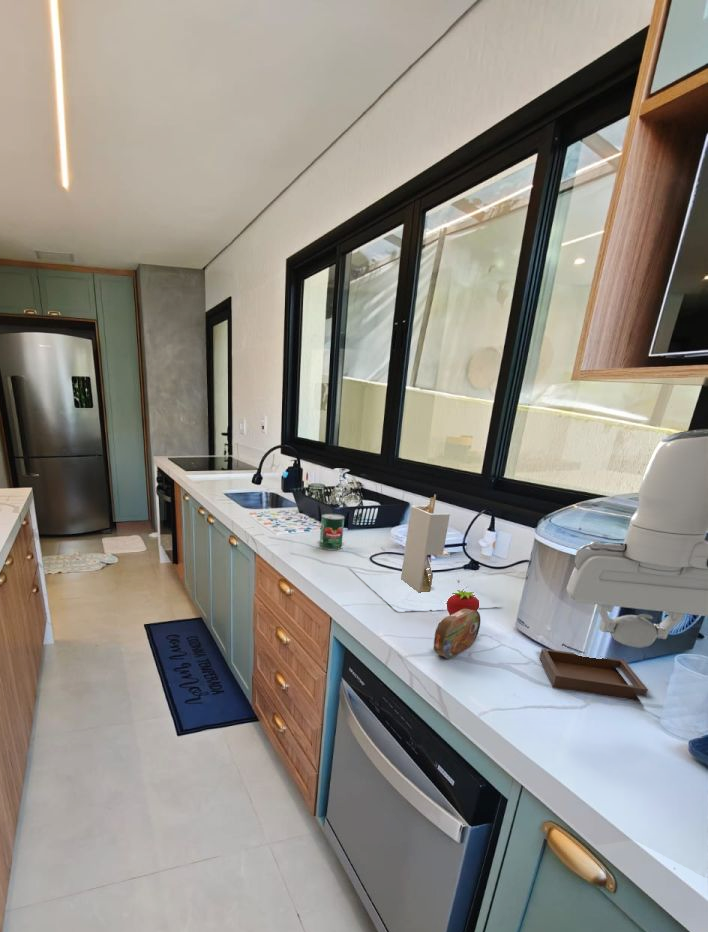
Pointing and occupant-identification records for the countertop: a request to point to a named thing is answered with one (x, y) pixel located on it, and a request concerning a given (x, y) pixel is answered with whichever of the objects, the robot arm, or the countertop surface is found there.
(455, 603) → the strawberry
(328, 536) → the canned tomato
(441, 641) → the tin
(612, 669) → the tray
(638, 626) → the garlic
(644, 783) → the countertop surface
